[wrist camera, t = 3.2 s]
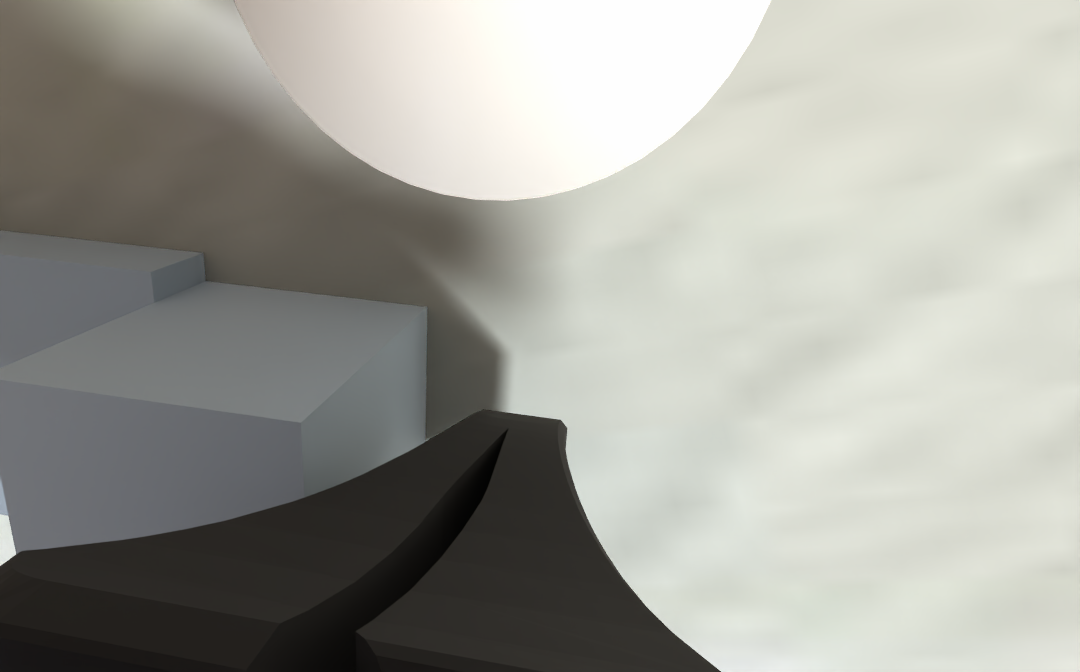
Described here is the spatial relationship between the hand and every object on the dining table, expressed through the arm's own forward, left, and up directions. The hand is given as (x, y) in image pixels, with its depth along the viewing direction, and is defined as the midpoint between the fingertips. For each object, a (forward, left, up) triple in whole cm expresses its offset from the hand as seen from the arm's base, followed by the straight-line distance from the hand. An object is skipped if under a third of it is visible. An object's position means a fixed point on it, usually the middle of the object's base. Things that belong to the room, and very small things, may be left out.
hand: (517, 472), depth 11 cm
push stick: (0, +10, -2) cm, 10 cm away
